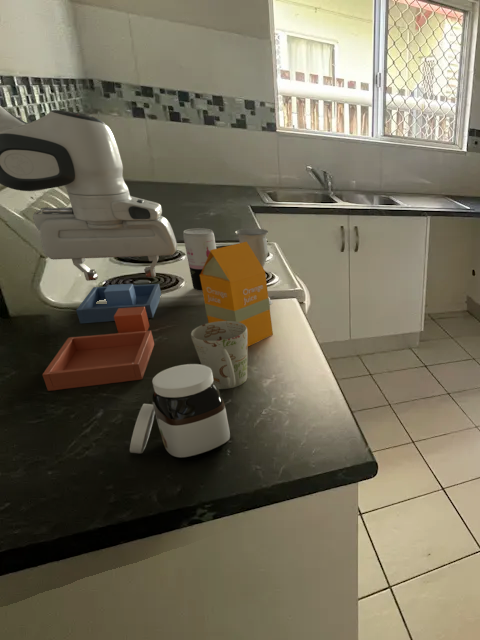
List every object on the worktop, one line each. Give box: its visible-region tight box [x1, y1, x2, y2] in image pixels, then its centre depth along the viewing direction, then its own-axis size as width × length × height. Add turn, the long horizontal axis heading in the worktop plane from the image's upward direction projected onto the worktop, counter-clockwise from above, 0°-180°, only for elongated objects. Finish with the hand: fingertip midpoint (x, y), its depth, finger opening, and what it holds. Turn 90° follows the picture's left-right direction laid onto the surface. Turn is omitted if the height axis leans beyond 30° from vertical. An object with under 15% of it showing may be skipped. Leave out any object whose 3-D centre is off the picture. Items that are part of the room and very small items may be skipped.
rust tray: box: [41, 330, 155, 392], centre depth 85 cm, size 13×15×3 cm
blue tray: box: [75, 283, 162, 324], centre depth 108 cm, size 13×15×3 cm
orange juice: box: [200, 242, 274, 348], centre depth 96 cm, size 8×9×20 cm
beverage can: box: [182, 227, 217, 293], centre depth 121 cm, size 7×7×15 cm
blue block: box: [104, 283, 137, 307], centre depth 107 cm, size 4×4×4 cm
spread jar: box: [129, 363, 231, 461], centre depth 66 cm, size 12×11×12 cm
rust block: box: [114, 307, 150, 333], centre depth 98 cm, size 4×4×4 cm
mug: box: [190, 321, 248, 390], centre depth 82 cm, size 8×13×10 cm, turn 40°
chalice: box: [235, 227, 273, 306], centre depth 114 cm, size 7×7×18 cm
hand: (122, 278), depth 94 cm, fingers open, 8 cm apart
